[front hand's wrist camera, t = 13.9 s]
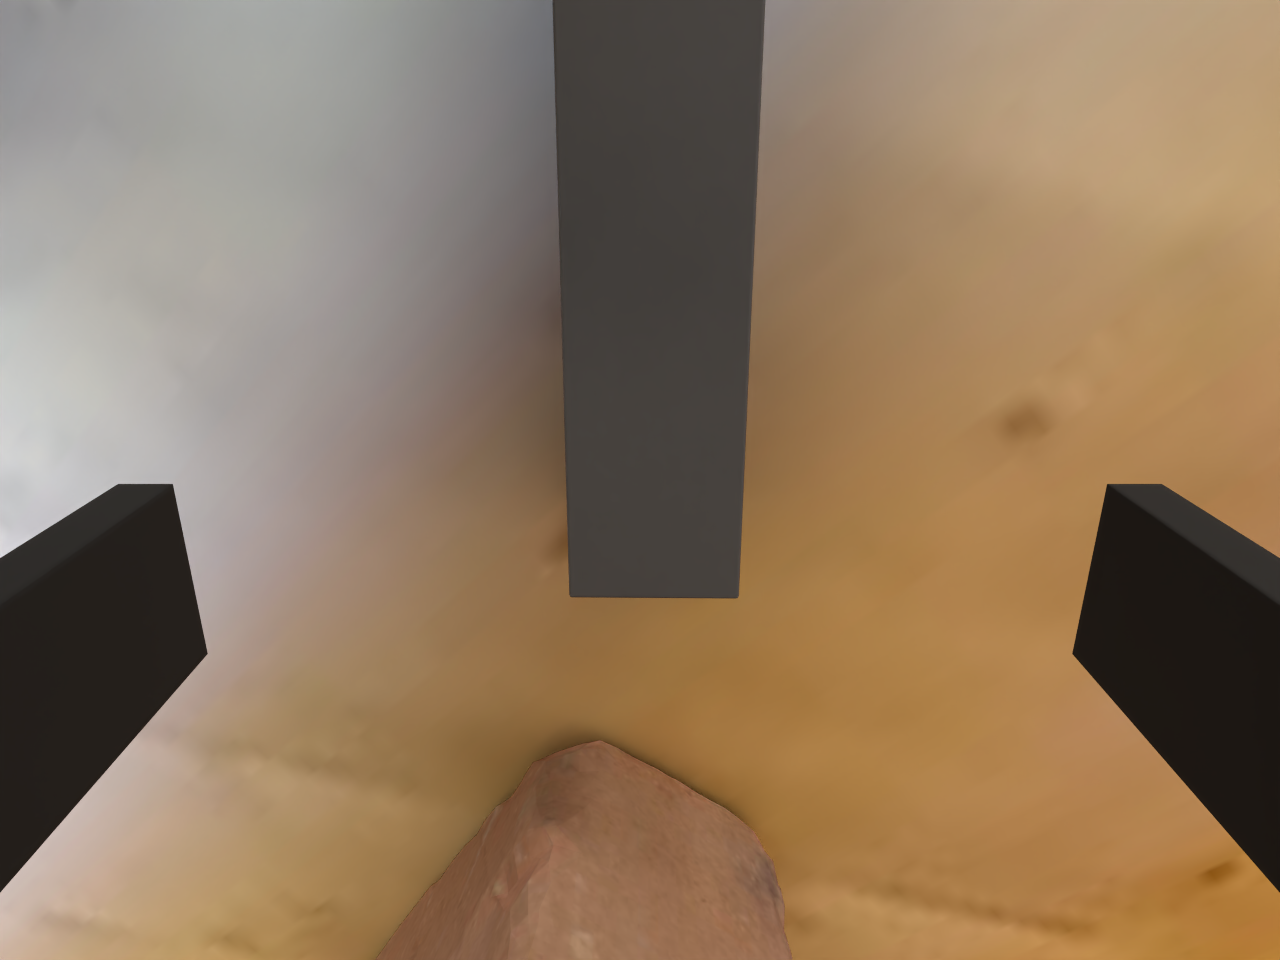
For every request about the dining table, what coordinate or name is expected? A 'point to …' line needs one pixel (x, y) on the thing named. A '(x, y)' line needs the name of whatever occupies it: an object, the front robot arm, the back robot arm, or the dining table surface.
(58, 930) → the dining table surface
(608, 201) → the post
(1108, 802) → the dining table surface
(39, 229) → the dining table surface
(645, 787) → the stone
